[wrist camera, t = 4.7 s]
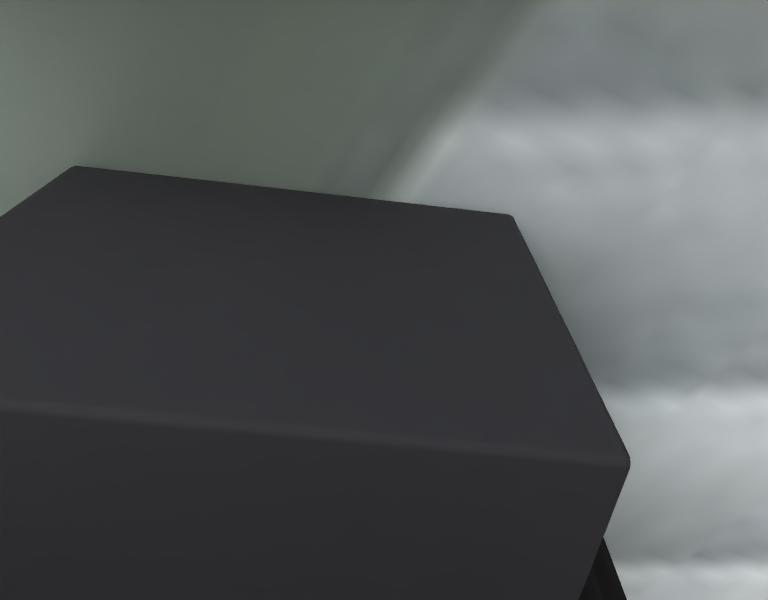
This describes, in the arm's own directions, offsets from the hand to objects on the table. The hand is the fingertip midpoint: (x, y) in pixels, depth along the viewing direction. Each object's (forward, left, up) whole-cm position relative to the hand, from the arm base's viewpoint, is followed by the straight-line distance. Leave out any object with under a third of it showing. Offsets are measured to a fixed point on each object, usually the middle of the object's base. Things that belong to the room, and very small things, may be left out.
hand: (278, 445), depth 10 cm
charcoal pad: (0, 0, -1) cm, 1 cm away
